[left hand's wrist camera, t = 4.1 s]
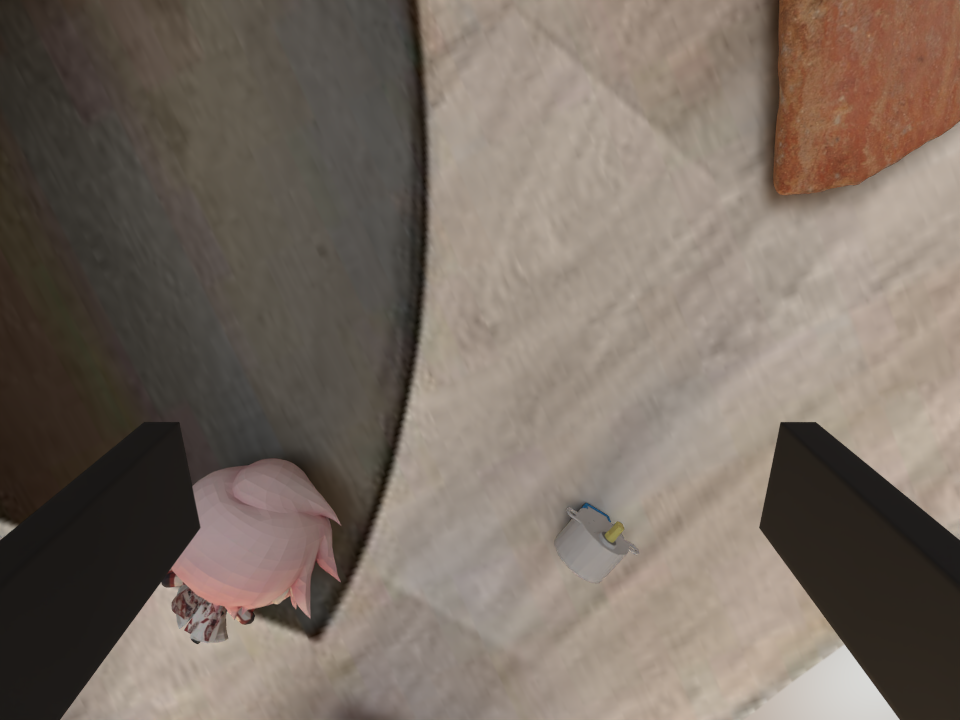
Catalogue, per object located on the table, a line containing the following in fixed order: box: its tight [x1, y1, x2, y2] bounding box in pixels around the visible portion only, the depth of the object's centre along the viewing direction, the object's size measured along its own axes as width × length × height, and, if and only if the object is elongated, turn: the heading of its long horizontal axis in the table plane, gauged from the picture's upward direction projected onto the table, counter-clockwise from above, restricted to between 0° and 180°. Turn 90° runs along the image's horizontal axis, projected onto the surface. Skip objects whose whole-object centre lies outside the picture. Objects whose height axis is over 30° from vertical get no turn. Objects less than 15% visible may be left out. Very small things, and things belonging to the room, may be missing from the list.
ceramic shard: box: [773, 0, 960, 195], centre depth 33 cm, size 15×6×15 cm
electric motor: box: [555, 503, 639, 583], centre depth 44 cm, size 7×5×5 cm
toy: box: [161, 458, 341, 644], centre depth 41 cm, size 12×11×15 cm
